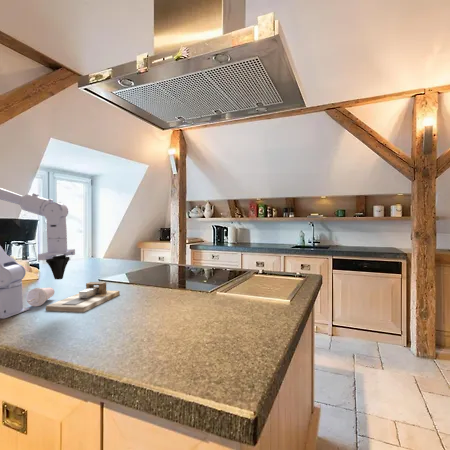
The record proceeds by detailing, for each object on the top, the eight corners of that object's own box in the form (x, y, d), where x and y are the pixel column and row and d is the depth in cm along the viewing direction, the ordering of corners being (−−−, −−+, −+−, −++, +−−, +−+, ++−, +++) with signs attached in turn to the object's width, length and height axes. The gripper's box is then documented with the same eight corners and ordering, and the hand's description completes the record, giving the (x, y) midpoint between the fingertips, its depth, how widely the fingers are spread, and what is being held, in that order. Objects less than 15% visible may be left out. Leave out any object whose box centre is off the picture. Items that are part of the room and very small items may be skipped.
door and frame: (83, 312, 95) (83, 294, 95) (45, 310, 98) (45, 293, 98) (119, 294, 117) (119, 280, 117) (87, 293, 120) (87, 280, 119)
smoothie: (37, 296, 111) (15, 304, 98) (45, 281, 112) (24, 287, 98) (53, 303, 112) (33, 313, 98) (61, 288, 112) (42, 295, 99)
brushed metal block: (86, 298, 106) (86, 291, 105) (79, 297, 106) (79, 291, 106) (101, 291, 114) (101, 286, 114) (94, 291, 115) (94, 286, 115)
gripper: (51, 239, 90) (53, 283, 90) (82, 236, 104) (83, 274, 104) (31, 240, 91) (33, 283, 91) (64, 237, 105) (65, 274, 106)
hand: (58, 279), depth 98 cm, fingers closed
